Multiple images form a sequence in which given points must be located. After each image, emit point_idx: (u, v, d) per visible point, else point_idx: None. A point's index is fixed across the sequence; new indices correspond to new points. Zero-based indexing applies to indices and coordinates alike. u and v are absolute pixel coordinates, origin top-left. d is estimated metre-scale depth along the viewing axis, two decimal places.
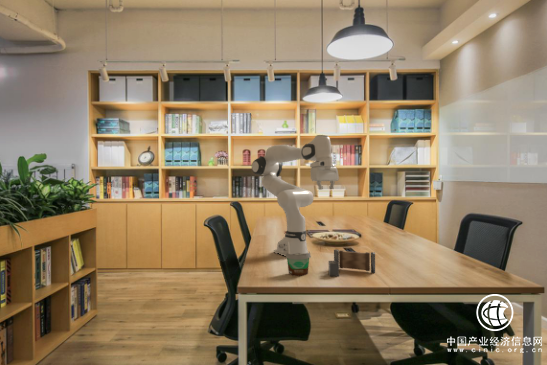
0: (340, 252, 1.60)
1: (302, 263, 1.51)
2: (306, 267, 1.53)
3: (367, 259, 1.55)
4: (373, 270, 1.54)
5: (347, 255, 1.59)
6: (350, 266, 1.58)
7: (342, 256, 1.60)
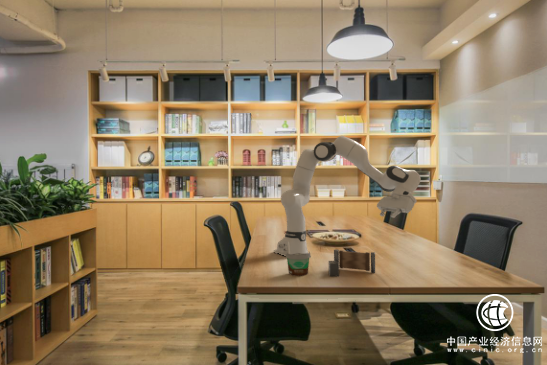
0: (340, 252, 1.60)
1: (302, 263, 1.51)
2: (306, 267, 1.53)
3: (367, 259, 1.55)
4: (373, 270, 1.54)
5: (347, 255, 1.59)
6: (350, 266, 1.58)
7: (342, 256, 1.60)
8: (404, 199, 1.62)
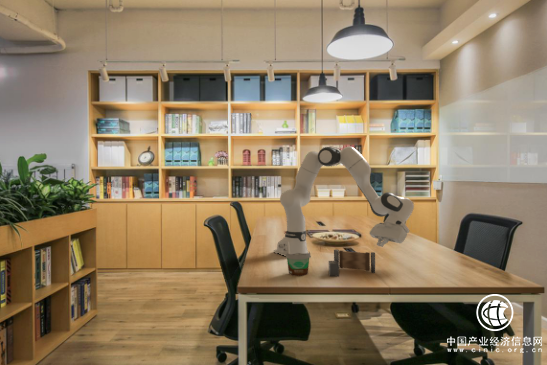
0: (340, 252, 1.60)
1: (302, 263, 1.51)
2: (306, 267, 1.53)
3: (367, 259, 1.55)
4: (373, 270, 1.54)
5: (347, 255, 1.59)
6: (350, 266, 1.58)
7: (342, 256, 1.60)
8: (397, 229, 1.60)
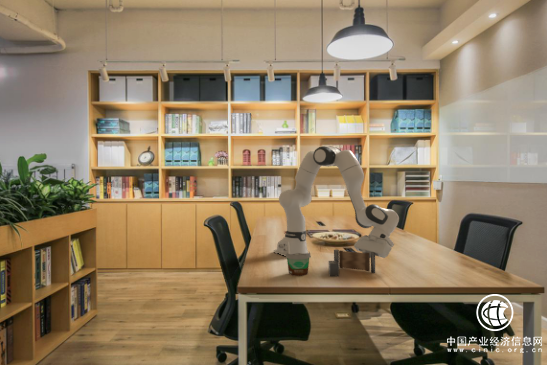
0: (340, 252, 1.60)
1: (302, 263, 1.51)
2: (306, 267, 1.53)
3: (367, 259, 1.54)
4: (373, 270, 1.54)
5: (347, 255, 1.59)
6: (350, 266, 1.58)
7: (342, 256, 1.60)
8: (381, 242, 1.55)
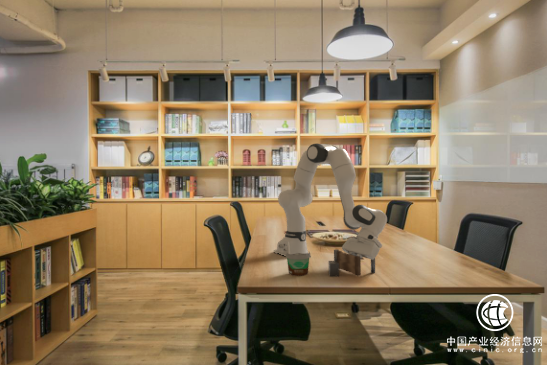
0: (337, 252, 1.59)
1: (302, 263, 1.51)
2: (306, 267, 1.53)
3: (356, 263, 1.48)
4: (373, 270, 1.54)
5: (342, 256, 1.56)
6: (344, 268, 1.55)
7: (339, 257, 1.59)
8: (369, 244, 1.52)
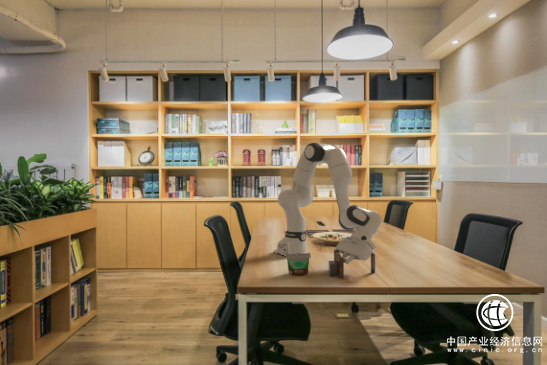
0: (335, 252, 1.59)
1: (302, 263, 1.51)
2: (306, 267, 1.53)
3: (339, 264, 1.47)
4: (373, 270, 1.54)
5: (336, 256, 1.56)
6: None
7: (335, 257, 1.59)
8: (362, 245, 1.50)
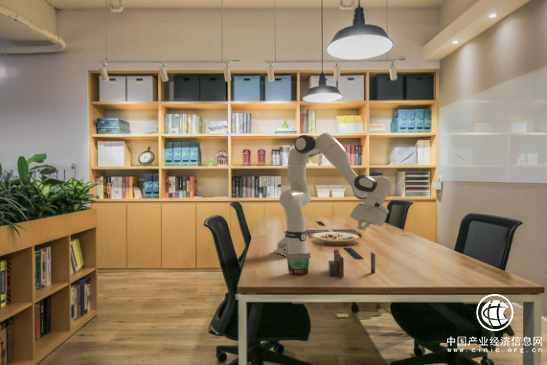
0: (335, 252, 1.59)
1: (302, 263, 1.51)
2: (306, 267, 1.53)
3: (339, 264, 1.47)
4: (373, 270, 1.54)
5: (336, 256, 1.56)
6: None
7: (335, 257, 1.59)
8: (376, 211, 1.58)
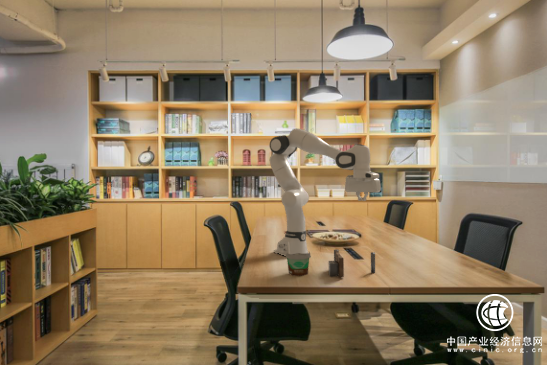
0: (335, 252, 1.59)
1: (302, 263, 1.51)
2: (306, 267, 1.53)
3: (339, 264, 1.47)
4: (373, 270, 1.54)
5: (336, 256, 1.56)
6: None
7: (335, 257, 1.59)
8: (369, 181, 1.67)
